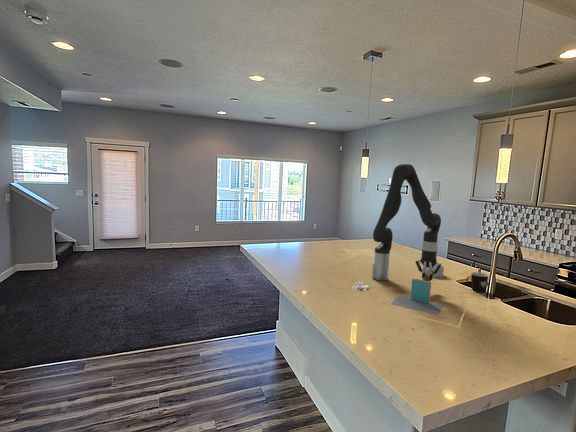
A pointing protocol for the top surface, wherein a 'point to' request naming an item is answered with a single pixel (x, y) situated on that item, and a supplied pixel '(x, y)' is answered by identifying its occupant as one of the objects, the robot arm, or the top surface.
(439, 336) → the top surface
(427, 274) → the turner
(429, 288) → the tile
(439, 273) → the lumpy-topped squat cylinder
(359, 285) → the teacup and saucer
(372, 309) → the top surface
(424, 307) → the slate mat
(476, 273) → the coffee mug
